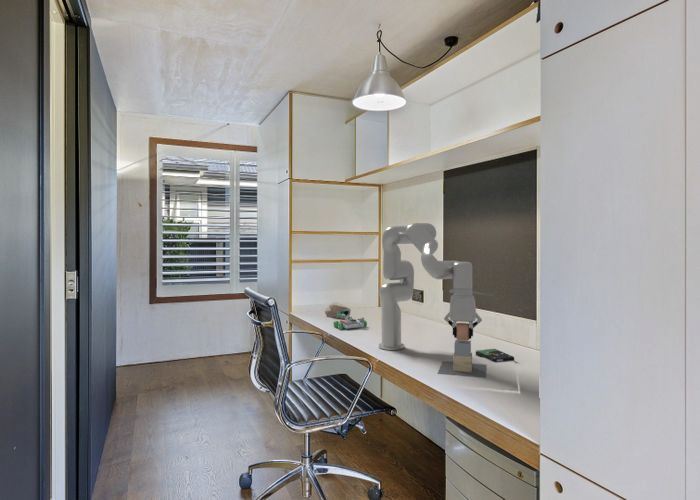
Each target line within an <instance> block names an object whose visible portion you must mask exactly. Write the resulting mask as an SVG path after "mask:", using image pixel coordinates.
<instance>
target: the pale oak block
mask: <svg viewBox="0 0 700 500" xmlns="http://www.w3.org/2000/svg"><path fill="white" fill-rule="evenodd" d="M452 362H453V371H462V372H471V371H472V364H473V352H471V355H470V357H467V356H454V354H453V355H452Z"/></svg>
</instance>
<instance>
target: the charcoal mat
mask: <svg viewBox="0 0 700 500" xmlns="http://www.w3.org/2000/svg"><path fill="white" fill-rule="evenodd" d="M487 366H488V365H487V364H483V363H472V371H471V372H462V371H453V361H448V360H447V361H444V360H442V362H441V364H440V366H439V369H438V372H437V373H436V374H438V375H446V376H447V375H449V376H459V377H461V376H462V377H470V378H471V377H472V378H479V379H481V378H482V379H486V378H487V377H486V376H487Z"/></svg>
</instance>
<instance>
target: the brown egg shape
mask: <svg viewBox="0 0 700 500" xmlns="http://www.w3.org/2000/svg"><path fill="white" fill-rule="evenodd" d="M469 329H470V325H469V322H456V338H455V340H468V341H470V340H471V339H470V338H469Z"/></svg>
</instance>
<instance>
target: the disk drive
mask: <svg viewBox="0 0 700 500" xmlns="http://www.w3.org/2000/svg"><path fill="white" fill-rule="evenodd" d="M475 356H477V357H479V358H485V359H487V360H489V361H491V362H493V363H497V362H499V363H500V362H507V361H515V356H513V355H510V354H509V353H506V352H503V351H501V350H498V349H497V348H489V349H487V348H486V349H480V350H478V349H477V350H475Z"/></svg>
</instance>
